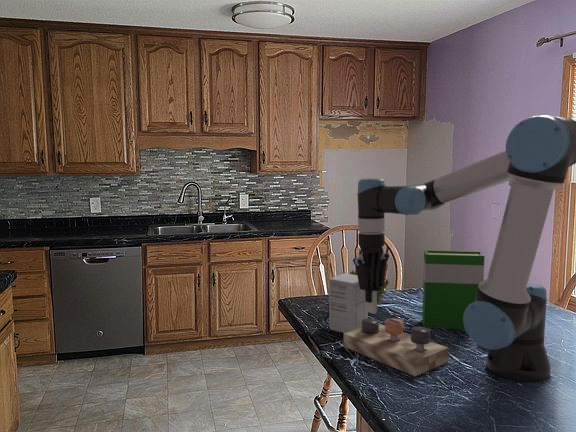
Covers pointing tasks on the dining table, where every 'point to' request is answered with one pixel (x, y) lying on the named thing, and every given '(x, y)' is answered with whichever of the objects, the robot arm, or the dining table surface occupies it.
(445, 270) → the hardback book
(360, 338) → the mount
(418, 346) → the black knob near
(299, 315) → the dining table surface
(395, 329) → the orange knob middle
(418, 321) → the dining table surface
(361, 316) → the supplement box
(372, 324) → the black knob far
